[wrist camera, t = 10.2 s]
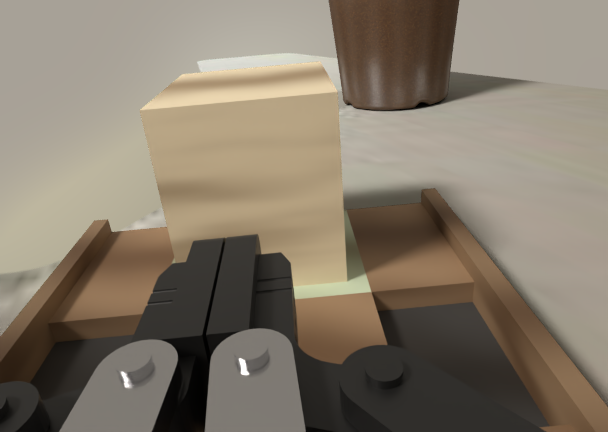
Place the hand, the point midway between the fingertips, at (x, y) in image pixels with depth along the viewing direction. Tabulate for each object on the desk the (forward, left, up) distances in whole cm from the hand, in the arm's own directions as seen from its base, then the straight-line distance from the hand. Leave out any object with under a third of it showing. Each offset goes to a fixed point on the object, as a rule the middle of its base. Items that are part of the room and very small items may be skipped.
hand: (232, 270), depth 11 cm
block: (-8, +8, -5) cm, 12 cm away
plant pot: (-22, +43, -7) cm, 49 cm away
